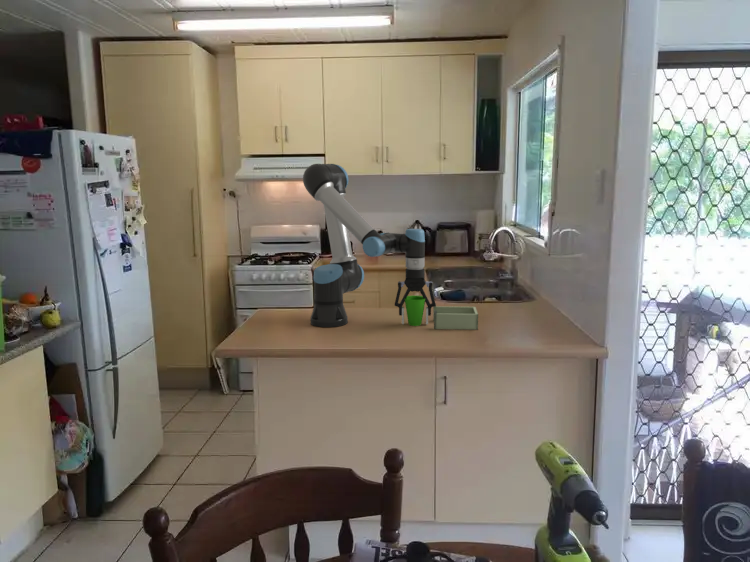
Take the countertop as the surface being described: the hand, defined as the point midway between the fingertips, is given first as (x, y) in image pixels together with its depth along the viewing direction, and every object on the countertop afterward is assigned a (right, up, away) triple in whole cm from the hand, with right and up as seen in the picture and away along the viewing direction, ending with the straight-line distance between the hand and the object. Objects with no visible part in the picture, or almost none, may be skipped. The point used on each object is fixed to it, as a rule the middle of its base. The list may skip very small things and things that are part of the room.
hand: (414, 323), depth 237 cm
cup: (0, -1, 0) cm, 1 cm away
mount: (+16, -1, -1) cm, 16 cm away
